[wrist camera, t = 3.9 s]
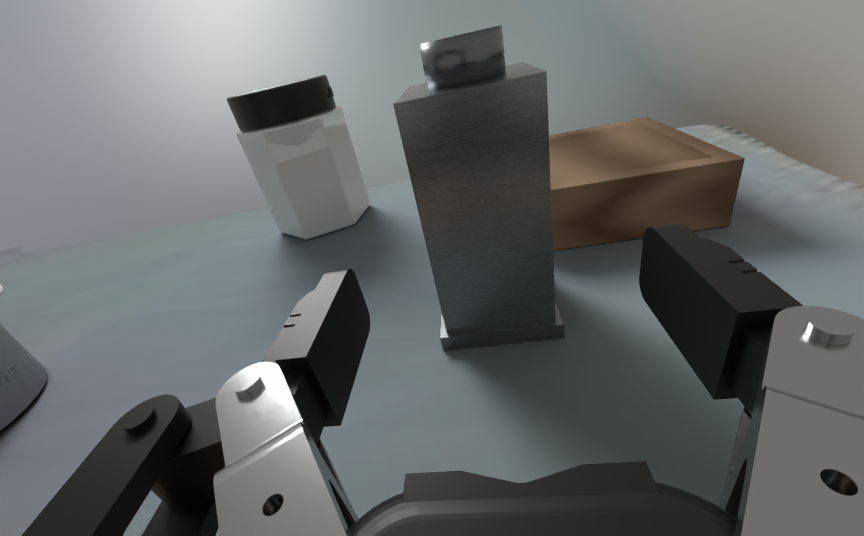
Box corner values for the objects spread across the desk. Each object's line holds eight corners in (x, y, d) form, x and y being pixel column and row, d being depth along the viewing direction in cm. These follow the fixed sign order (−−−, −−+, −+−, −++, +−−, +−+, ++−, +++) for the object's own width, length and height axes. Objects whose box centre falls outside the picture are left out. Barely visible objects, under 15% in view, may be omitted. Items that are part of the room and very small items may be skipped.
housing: (443, 350, 18) (370, 55, 12) (446, 284, 23) (395, 50, 16) (564, 337, 17) (556, 12, 11) (541, 272, 22) (526, 20, 15)
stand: (521, 254, 24) (516, 195, 22) (502, 189, 34) (497, 145, 32) (729, 225, 22) (744, 158, 20) (643, 165, 32) (647, 117, 30)
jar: (387, 206, 36) (349, 68, 30) (319, 246, 31) (257, 91, 25) (333, 198, 42) (292, 81, 36) (268, 231, 37) (208, 101, 31)
